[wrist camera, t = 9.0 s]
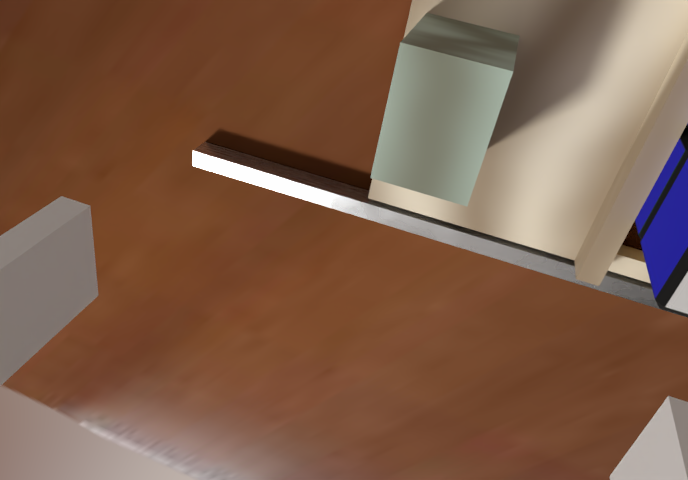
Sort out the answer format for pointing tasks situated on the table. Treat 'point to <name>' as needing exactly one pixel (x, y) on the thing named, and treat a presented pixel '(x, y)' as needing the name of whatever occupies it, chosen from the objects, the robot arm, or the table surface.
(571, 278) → the light grey flat piece
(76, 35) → the table surface
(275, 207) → the table surface
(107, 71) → the table surface
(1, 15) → the table surface
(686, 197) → the puzzle cube
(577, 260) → the board with grey block
